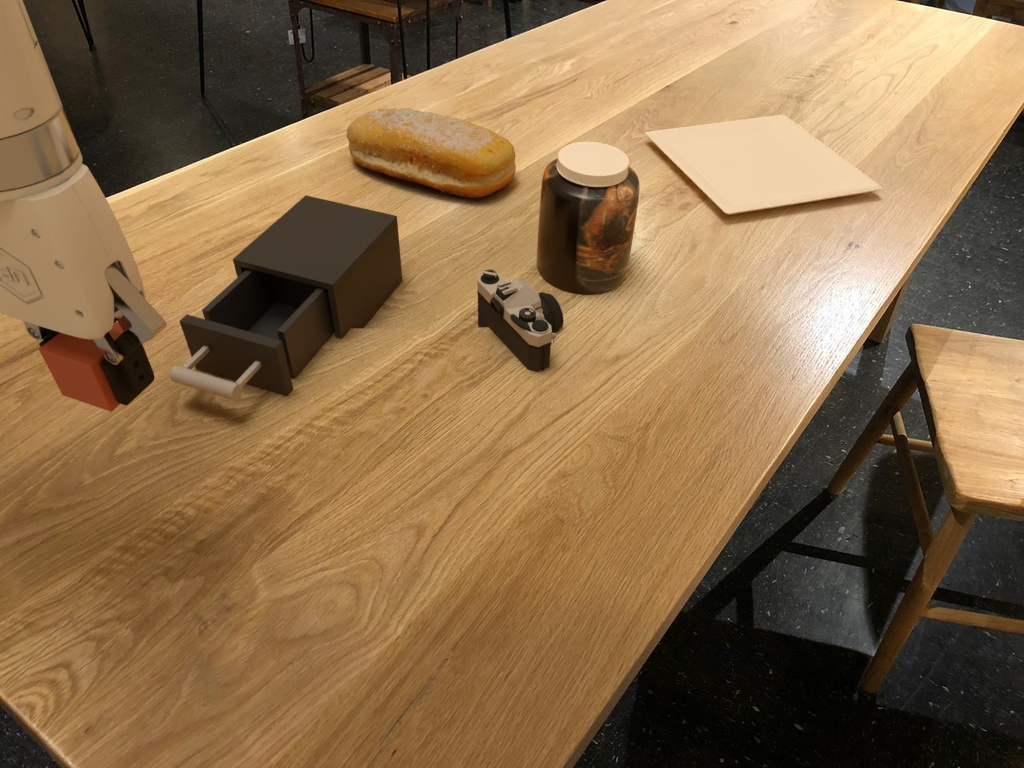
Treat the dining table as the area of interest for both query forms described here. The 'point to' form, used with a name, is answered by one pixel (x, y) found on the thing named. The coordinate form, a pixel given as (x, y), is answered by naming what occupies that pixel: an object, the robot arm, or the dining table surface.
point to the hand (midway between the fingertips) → (107, 380)
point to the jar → (587, 218)
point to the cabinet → (332, 256)
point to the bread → (433, 151)
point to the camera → (519, 317)
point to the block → (80, 369)
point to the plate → (760, 163)
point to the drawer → (255, 335)
